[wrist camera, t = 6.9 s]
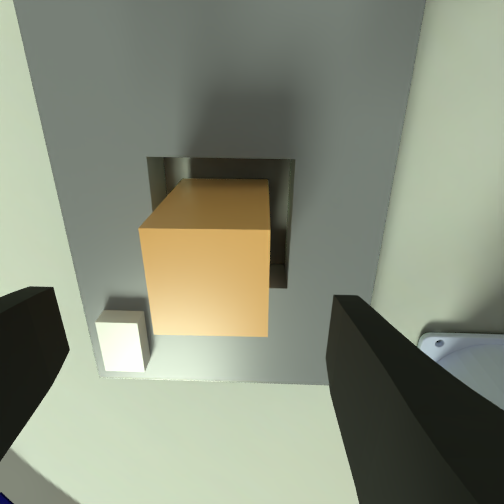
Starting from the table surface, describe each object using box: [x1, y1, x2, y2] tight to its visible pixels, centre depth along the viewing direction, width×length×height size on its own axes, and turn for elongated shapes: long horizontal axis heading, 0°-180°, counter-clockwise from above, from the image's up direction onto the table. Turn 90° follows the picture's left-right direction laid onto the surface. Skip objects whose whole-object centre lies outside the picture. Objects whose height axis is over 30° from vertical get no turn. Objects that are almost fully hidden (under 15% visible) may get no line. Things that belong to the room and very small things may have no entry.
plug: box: [138, 178, 270, 337], centre depth 15 cm, size 4×4×7 cm
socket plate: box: [13, 0, 426, 385], centre depth 16 cm, size 14×18×4 cm
